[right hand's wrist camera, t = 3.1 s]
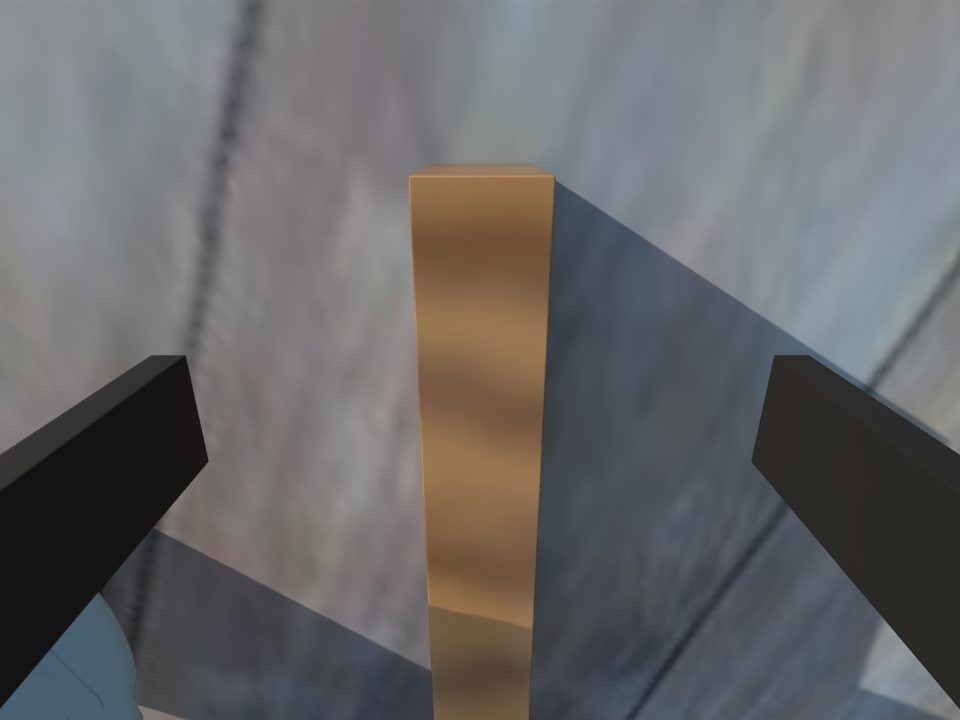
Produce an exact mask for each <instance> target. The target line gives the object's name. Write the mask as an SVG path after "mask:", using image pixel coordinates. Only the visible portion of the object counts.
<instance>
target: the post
mask: <svg viewBox="0 0 960 720" xmlns="http://www.w3.org/2000/svg"><path fill="white" fill-rule="evenodd" d="M409 194H410V216H411V237H412V259H413V280H414V302H415V323H416V345H417V367H418V388H419V410H420V431H421V453H422V474H423V496H424V518H425V539H426V561H427V582H428V604H429V625H430V647H431V669H432V690H433V712H434V720H529V706H530V685H531V665H532V644H533V624H534V604H535V583H536V563H537V542H538V522H539V502H540V481H541V461H542V440H543V420H544V400H545V379H546V359H547V338H548V318H549V298H550V277H551V257H552V236H553V216H554V196H555V176H554V175H552V174H550V173H548V172H546V171H544V170H542V169H540V168H538V167H536V166H534V165H430V166H428V167H426V168H424V169H422V170H420V171H418V172H416V173H414V174H412V175H410V176H409Z"/></svg>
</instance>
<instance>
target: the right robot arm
mask: <svg viewBox="0 0 960 720" xmlns="http://www.w3.org/2000/svg"><path fill="white" fill-rule="evenodd" d="M208 462H209V461H208V456H207V452H206V447H205V443H204V438H203V433H202V429H201V424H200V419H199V415H198V410H197V406H196V401H195V396H194V392H193V387H192V382H191V378H190V373H189V369H188V364H187V359H186V355H151V356H150V357H148V358H147V359H145V360H144V361H142V362H140V363H139V364H137V365H136V366H134V367H133V368H131V369H130V370H128V371H127V372H125V373H124V374H122V375H121V376H119V377H118V378H116V379H115V380H113V381H112V382H110V383H109V384H107V385H106V386H104V387H102V388H101V389H99V390H98V391H96V392H95V393H93V394H92V395H90V396H89V397H87V398H86V399H84V400H83V401H81V402H80V403H78V404H77V405H75V406H74V407H72V408H71V409H69V410H68V411H66V412H64V413H63V414H61V415H60V416H58V417H57V418H55V419H54V420H52V421H51V422H49V423H48V424H46V425H45V426H43V427H42V428H40V429H39V430H37V431H36V432H34V433H33V434H31V435H30V436H28V437H27V438H25V439H23V440H22V441H20V442H19V443H17V444H16V445H14V446H13V447H11V448H10V449H8V450H7V451H5V452H4V453H2V454H1V455H0V709H1V708H2V706H3V705H4V704H5V703H6V702H7V700H8V699H9V698H10V697H11V696H12V694H13V693H14V692H15V691H16V690H17V689H18V687H19V686H20V685H21V684H22V683H23V681H24V680H25V679H26V678H27V677H28V675H29V674H30V673H31V672H32V671H33V669H34V668H35V667H36V666H37V665H38V664H39V662H40V661H41V660H42V659H43V658H44V656H45V655H46V654H47V653H48V652H49V650H50V649H51V648H52V647H53V646H54V645H55V643H56V642H57V641H58V640H59V639H60V637H61V636H62V635H63V634H64V633H65V631H66V630H67V629H68V628H69V627H70V626H71V624H72V623H73V622H74V621H75V620H76V618H77V617H78V616H79V615H80V614H81V612H82V611H83V610H84V609H85V608H86V607H87V605H88V604H89V603H90V602H91V601H92V599H93V598H94V597H95V596H96V595H97V593H98V592H99V591H100V590H101V589H102V588H103V586H104V585H105V584H106V583H107V582H108V580H109V579H110V578H111V577H112V576H113V574H114V573H115V572H116V571H117V570H118V569H119V567H120V566H121V565H122V564H123V563H124V561H125V560H126V559H127V558H128V557H129V555H130V554H131V553H132V552H133V551H134V550H135V548H136V547H137V546H138V545H139V544H140V542H141V541H142V540H143V539H144V538H145V536H146V535H147V534H148V533H149V532H150V530H151V529H152V528H153V527H154V526H155V525H156V523H157V522H158V521H159V520H160V519H161V517H162V516H163V515H164V514H165V513H166V511H167V510H168V509H169V508H170V507H171V506H172V504H173V503H174V502H175V501H176V500H177V498H178V497H179V496H180V495H181V494H182V492H183V491H184V490H185V489H186V488H187V487H188V485H189V484H190V483H191V482H192V481H193V479H194V478H195V477H196V476H197V475H198V473H199V472H200V471H201V470H202V469H203V468H204V466H205V465H206V464H207V463H208ZM751 462H752V463H753V464H754V465H755V466H756V468H757V469H758V470H759V471H760V472H761V473H762V475H763V476H764V477H765V478H766V479H767V481H768V482H769V483H770V484H771V485H772V487H773V488H774V489H775V490H776V491H777V492H778V494H779V495H780V496H781V497H782V498H783V500H784V501H785V502H786V503H787V504H788V506H789V507H790V508H791V509H792V510H793V511H794V513H795V514H796V515H797V516H798V517H799V519H800V520H801V521H802V522H803V523H804V525H805V526H806V527H807V528H808V529H809V530H810V532H811V533H812V534H813V535H814V536H815V538H816V539H817V540H818V541H819V542H820V544H821V545H822V546H823V547H824V548H825V550H826V551H827V552H828V553H829V554H830V555H831V557H832V558H833V559H834V560H835V561H836V563H837V564H838V565H839V566H840V567H841V569H842V570H843V571H844V572H845V573H846V574H847V576H848V577H849V578H850V579H851V580H852V582H853V583H854V584H855V585H856V586H857V588H858V589H859V590H860V591H861V592H862V593H863V595H864V596H865V597H866V598H867V599H868V601H869V602H870V603H871V604H872V605H873V607H874V608H875V609H876V610H877V611H878V612H879V614H880V615H881V616H882V617H883V618H884V620H885V621H886V622H887V623H888V624H889V626H890V627H891V628H892V629H893V630H894V631H895V633H896V634H897V635H898V636H899V637H900V639H901V640H902V641H903V642H904V643H905V645H906V646H907V647H908V648H909V649H910V650H911V652H912V653H913V654H914V655H915V656H916V658H917V659H918V660H919V661H920V662H921V664H922V665H923V666H924V667H925V668H926V669H927V671H928V672H929V673H930V674H931V675H932V677H933V678H934V679H935V680H936V681H937V683H938V684H939V685H940V686H941V687H942V689H943V690H944V691H945V692H946V693H947V694H948V696H949V697H950V698H951V699H952V700H953V702H954V703H955V704H956V705H957V706H958V708H959V709H960V455H959V454H958V453H956V452H955V451H953V450H952V449H950V448H949V447H947V446H946V445H944V444H943V443H941V442H940V441H938V440H937V439H935V438H933V437H932V436H930V435H929V434H927V433H926V432H924V431H923V430H921V429H920V428H918V427H917V426H915V425H914V424H912V423H911V422H909V421H908V420H906V419H905V418H903V417H902V416H900V415H899V414H897V413H896V412H894V411H892V410H891V409H889V408H888V407H886V406H885V405H883V404H882V403H880V402H879V401H877V400H876V399H874V398H873V397H871V396H870V395H868V394H867V393H865V392H864V391H862V390H861V389H859V388H858V387H856V386H854V385H853V384H851V383H850V382H848V381H847V380H845V379H844V378H842V377H841V376H839V375H838V374H836V373H835V372H833V371H832V370H830V369H829V368H827V367H826V366H824V365H823V364H821V363H820V362H818V361H816V360H815V359H813V358H812V357H810V356H809V355H774V359H773V364H772V369H771V373H770V378H769V382H768V387H767V392H766V396H765V401H764V406H763V410H762V415H761V419H760V424H759V429H758V433H757V438H756V443H755V447H754V452H753V456H752V461H751Z"/></svg>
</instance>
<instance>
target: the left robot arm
mask: <svg viewBox="0 0 960 720" xmlns="http://www.w3.org/2000/svg"><path fill="white" fill-rule="evenodd" d="M136 678H137V671H136V668H135V662H134V658H133V655H132V652H131V649H130V646H129V644H128V641H127V639H126V636H125V634H124V632H123V630H122V628H121V626H120V624H119V622H118V620H117V618H116V616H115V615H114V613H113V611H112V610H111V608H110V607H109V605H108V604H107V602H106V601H105V600H104V598H103V597H102V596H101V595H100V591H99V592H98V593H97V595H96V596H95V597H94V598H93V599H92V601H91V602H90V603H89V604H88V605H87V607H86V608H85V609H84V610H83V611H82V612H81V614H80V615H79V616H78V617H77V618H76V620H75V621H74V622H73V623H72V624H71V626H70V627H69V628H68V629H67V630H66V631H65V633H64V634H63V635H62V636H61V637H60V639H59V640H58V641H57V642H56V643H55V645H54V646H53V647H52V648H51V649H50V650H49V652H48V653H47V654H46V655H45V656H44V658H43V659H42V660H41V661H40V662H39V664H38V665H37V666H36V667H35V668H34V669H33V671H32V672H31V673H30V674H29V675H28V677H27V678H26V679H25V680H24V681H23V683H22V684H21V685H20V686H19V687H18V689H17V690H16V691H15V692H14V693H13V694H12V696H11V697H10V698H9V699H8V700H7V702H6V703H5V704H4V705H3V706H2V708H1V709H0V720H143V715H142V714H141V712H140V710H139V708H138V705H137V702H136V699H135V696H134V683H135V681H136Z"/></svg>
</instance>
